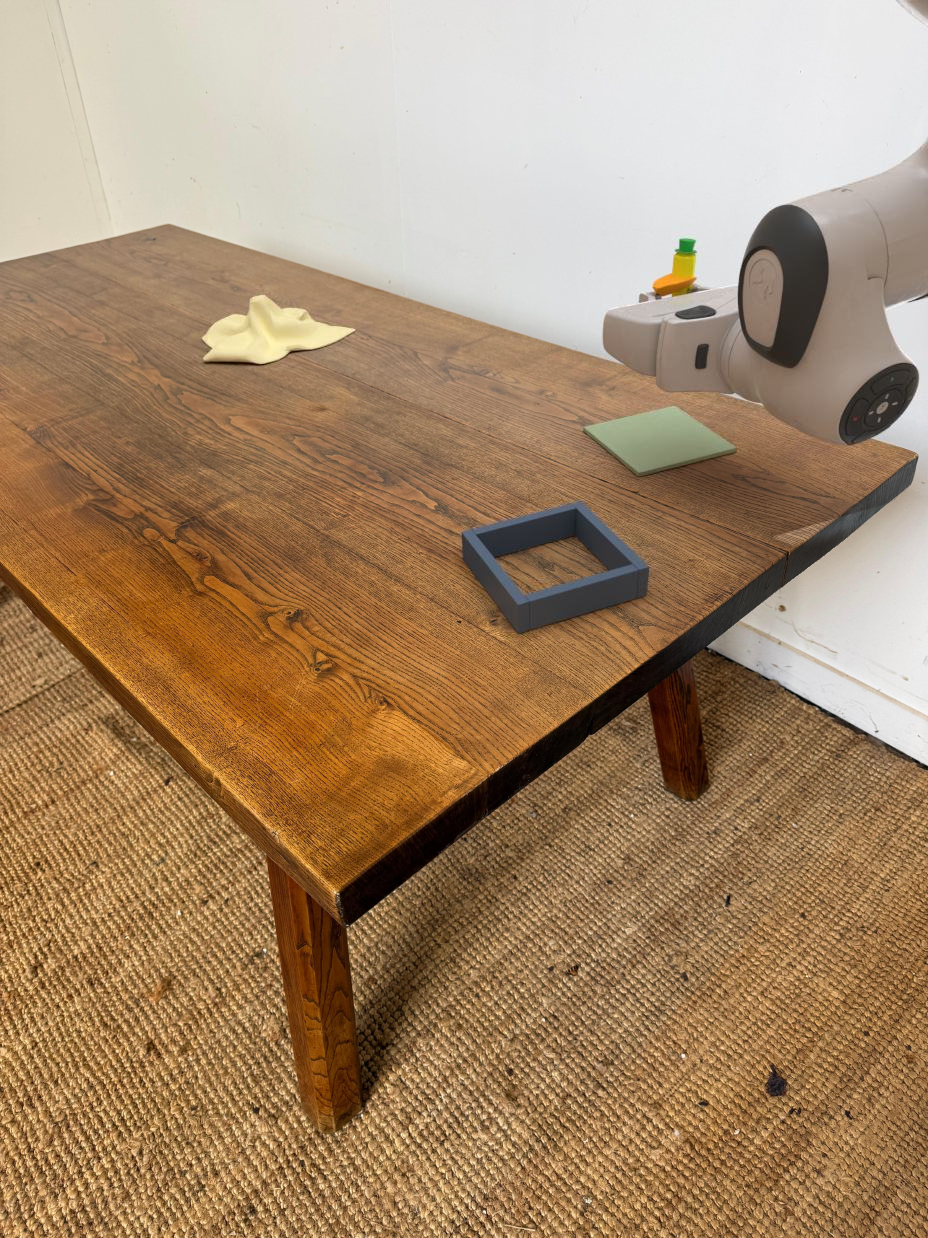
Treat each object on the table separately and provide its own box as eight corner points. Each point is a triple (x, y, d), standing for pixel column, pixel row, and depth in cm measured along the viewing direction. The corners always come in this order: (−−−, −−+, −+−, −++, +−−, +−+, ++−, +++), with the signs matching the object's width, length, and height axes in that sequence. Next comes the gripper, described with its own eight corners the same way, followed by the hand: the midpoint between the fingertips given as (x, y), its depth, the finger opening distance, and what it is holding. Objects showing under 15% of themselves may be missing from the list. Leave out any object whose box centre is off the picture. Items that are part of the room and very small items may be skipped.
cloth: (211, 375, 118) (200, 330, 114) (187, 332, 131) (177, 290, 127) (368, 343, 124) (363, 299, 120) (330, 305, 138) (324, 265, 134)
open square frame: (579, 527, 83) (580, 500, 82) (646, 595, 75) (649, 566, 73) (462, 559, 80) (461, 531, 78) (518, 634, 71) (517, 604, 69)
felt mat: (674, 409, 103) (674, 405, 102) (736, 451, 94) (737, 447, 94) (583, 430, 99) (583, 426, 99) (638, 476, 91) (638, 472, 90)
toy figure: (662, 376, 89) (673, 251, 81) (634, 367, 91) (643, 245, 83) (703, 357, 92) (718, 236, 85) (676, 349, 94) (688, 230, 87)
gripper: (854, 284, 78) (757, 247, 88) (654, 324, 72) (575, 279, 83) (839, 353, 82) (747, 310, 92) (648, 396, 76) (573, 345, 87)
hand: (664, 296), depth 87 cm, fingers closed on toy figure, 3 cm apart
